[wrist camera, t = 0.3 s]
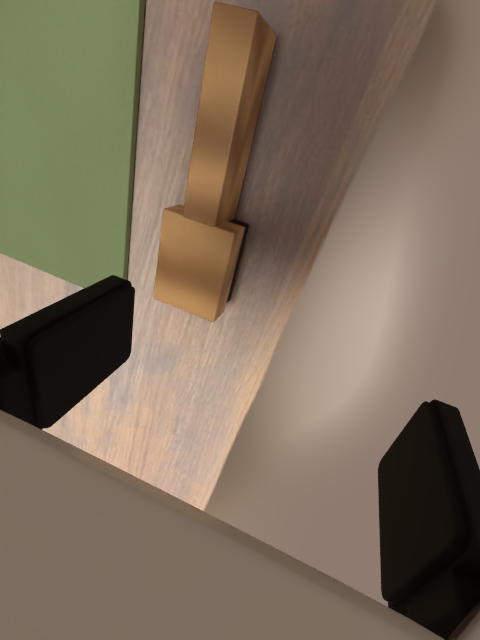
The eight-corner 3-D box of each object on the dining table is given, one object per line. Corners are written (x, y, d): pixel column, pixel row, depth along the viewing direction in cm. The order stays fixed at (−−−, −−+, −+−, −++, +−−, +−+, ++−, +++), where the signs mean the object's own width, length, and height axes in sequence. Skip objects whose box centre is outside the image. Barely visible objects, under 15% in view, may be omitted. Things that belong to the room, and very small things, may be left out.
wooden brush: (218, 21, 18) (188, -6, 15) (300, 40, 17) (286, 16, 14) (177, 281, 26) (152, 298, 23) (231, 302, 26) (213, 323, 23)
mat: (-49, -86, 20) (-60, -92, 20) (148, -45, 18) (142, -51, 17) (0, 249, 32) (-6, 251, 31) (125, 301, 29) (121, 304, 29)
